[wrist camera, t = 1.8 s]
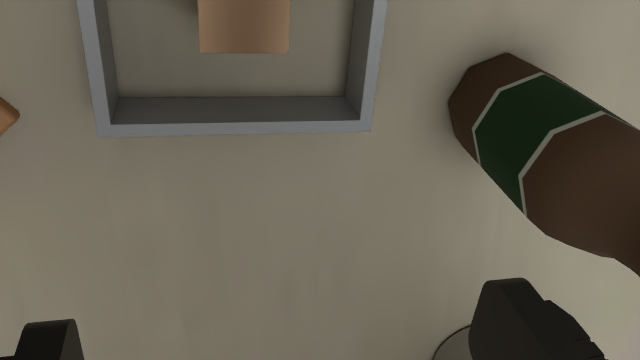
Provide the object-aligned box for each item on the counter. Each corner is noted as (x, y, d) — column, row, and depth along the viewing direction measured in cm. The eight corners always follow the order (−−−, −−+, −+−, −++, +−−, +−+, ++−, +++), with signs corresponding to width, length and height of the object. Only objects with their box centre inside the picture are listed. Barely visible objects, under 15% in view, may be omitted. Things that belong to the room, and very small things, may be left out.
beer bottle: (435, 148, 41) (663, 431, 21) (455, 49, 37) (759, 281, 17) (527, 145, 43) (819, 406, 23) (555, 50, 39) (939, 263, 19)
